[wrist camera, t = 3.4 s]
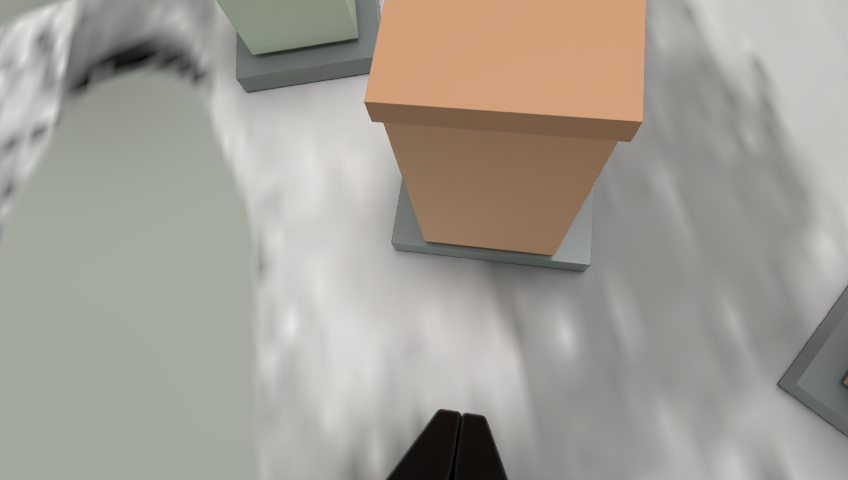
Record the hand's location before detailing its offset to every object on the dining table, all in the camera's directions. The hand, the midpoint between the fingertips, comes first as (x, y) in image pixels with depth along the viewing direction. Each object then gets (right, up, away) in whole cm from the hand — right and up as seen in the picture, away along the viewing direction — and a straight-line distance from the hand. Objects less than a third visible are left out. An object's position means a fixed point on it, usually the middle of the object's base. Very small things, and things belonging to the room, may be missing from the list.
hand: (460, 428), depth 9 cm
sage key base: (-6, +13, +14) cm, 20 cm away
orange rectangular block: (+2, +5, +9) cm, 10 cm away
